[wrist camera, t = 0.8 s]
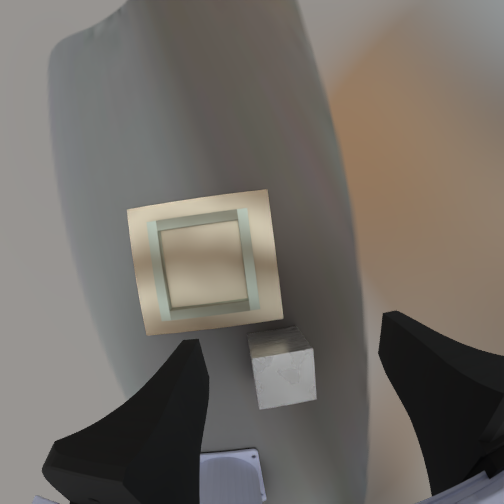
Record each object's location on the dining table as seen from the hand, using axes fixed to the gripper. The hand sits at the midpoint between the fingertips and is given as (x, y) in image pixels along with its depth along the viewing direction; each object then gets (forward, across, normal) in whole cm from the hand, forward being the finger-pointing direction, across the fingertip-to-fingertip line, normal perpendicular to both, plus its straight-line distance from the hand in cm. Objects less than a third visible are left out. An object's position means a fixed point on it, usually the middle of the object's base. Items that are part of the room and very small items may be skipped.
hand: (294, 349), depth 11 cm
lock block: (+13, 0, +11) cm, 17 cm away
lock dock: (+15, +6, +2) cm, 16 cm away
